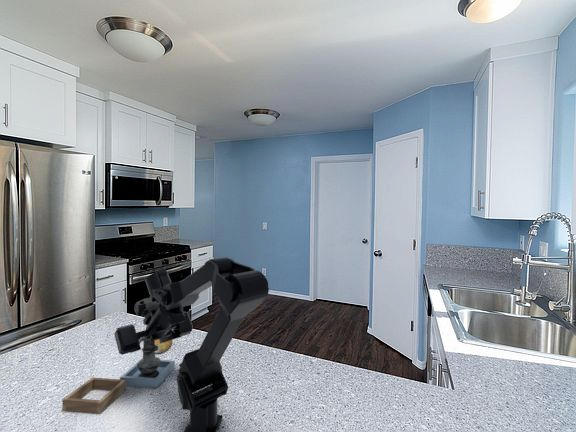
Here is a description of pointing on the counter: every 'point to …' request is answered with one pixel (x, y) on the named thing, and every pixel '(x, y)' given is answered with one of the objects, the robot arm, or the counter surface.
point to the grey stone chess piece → (148, 360)
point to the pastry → (162, 346)
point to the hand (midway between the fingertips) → (146, 345)
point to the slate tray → (134, 380)
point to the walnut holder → (94, 406)
